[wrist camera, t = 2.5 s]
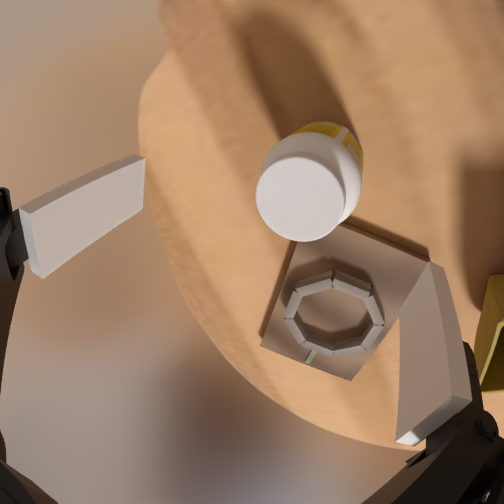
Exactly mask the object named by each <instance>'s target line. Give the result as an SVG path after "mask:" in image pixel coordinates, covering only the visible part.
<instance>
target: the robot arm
mask: <svg viewBox="0 0 504 504" xmlns="http://www.w3.org/2000/svg"><path fill="white" fill-rule="evenodd" d="M145 163H146V158H145V157H142V156H138V155H135V154H133V155H130V156H128V157H125V158H123V159H120V160H118V161H115V162H113V163H110V164H108V165H106V166H103V167H101V168H99V169H96V170H94V171H92V172H90V173H87V174H85V175H83V176H81V177H79V178H76V179H74V180H72V181H70V182H68V183H66V184H64V185H62V186H60V187H57V188H55V189H53V190H52V191H50V192H47V193H45V194H43V195H42V196H40V197H38V198H36V199H34V200H32V201H30V202H28V203H26V204H25V205H23V206H21V207H19V208H18V209H17V210H15V211H13V212H12V206H11V200H10V193H9V190H8V189H7V188H4V187H1V188H0V392H1V381H2V374H3V366H4V359H5V353H6V346H7V341H8V335H9V330H10V325H11V321H12V316H13V311H14V307H15V303H16V299H17V295H18V291H19V287H20V284H21V280H22V277H23V273H24V264H23V262H24V261H26V260H27V259H29V262H30V267H31V271H32V272H33V273H35V274H36V275H38V276H39V277H41V278H42V279H44V278H45V277H46V276H48V275H49V274H50V273H52V272H53V271H54V270H55V269H57V268H58V267H60V266H61V265H62V264H64V263H65V262H66V261H67V260H69V259H70V258H72V257H73V256H74V255H76V254H77V253H79V252H80V251H81V250H83V249H84V248H86V247H87V246H89V245H90V244H91V243H93V242H94V241H96V240H97V239H99V238H100V237H101V236H103V235H104V234H106V233H107V232H109V231H110V230H112V229H113V228H115V227H116V226H118V225H119V224H121V223H122V222H124V221H125V220H127V219H128V218H130V217H131V216H133V215H135V214H136V213H138V212H139V211H141V210H142V209H143V191H144V176H145ZM399 320H400V379H399V401H398V416H397V428H396V439H395V442H398V443H402V444H407V445H411V446H416V445H417V444H418V443H420V442H421V441H423V440H424V439H425V438H426V448H425V449H424V450H422V451H421V452H419V453H418V454H416V455H415V456H413V457H412V458H410V459H409V460H407V461H406V462H407V465H406V466H405V467H404V468H403V469H402V470H401V471H400V472H399V473H397V474H396V475H395V476H394V477H393V478H392V479H391V480H390V481H388V482H387V483H386V484H385V485H384V486H383V487H381V488H380V489H379V490H378V491H377V492H375V493H374V494H373V495H372V496H370V497H369V498H368V499H367V500H365V501H364V502H363V503H362V504H504V439H503V438H502V437H500V436H499V431H498V426H497V423H496V421H495V419H494V418H493V416H492V415H491V414H490V413H488V412H487V411H485V410H484V408H483V401H482V394H481V387H480V381H479V378H478V370H477V369H476V367H477V365H476V360H475V355H474V353H473V351H472V349H471V347H470V346H469V344H468V343H466V342H464V341H462V336H461V331H460V327H459V323H458V318H457V314H456V310H455V306H454V302H453V299H452V295H451V291H450V288H449V284H448V281H447V277H446V274H445V271H444V268H443V267H441V266H439V265H436V264H434V263H432V262H430V261H429V262H428V263H427V265H426V267H425V269H424V270H423V272H422V274H421V276H420V277H419V279H418V281H417V282H416V284H415V286H414V287H413V289H412V290H411V292H410V294H409V295H408V297H407V299H406V300H405V302H404V303H403V305H402V306H401V308H400V309H399ZM488 494H489V496H488V498H487V500H486V501H485V499H486V496H487V495H488ZM0 504H58V503H57V502H56V501H55V500H54V499H53V498H51V497H50V496H49V495H48V494H46V493H45V492H44V491H43V490H42V489H41V488H39V487H38V486H37V485H36V484H35V483H34V482H32V481H31V480H30V479H28V478H27V477H25V476H23V475H22V474H21V473H19V472H18V471H16V470H15V469H13V468H12V467H10V466H9V465H7V464H6V448H5V442H4V439H3V436H2V434H1V431H0Z"/></svg>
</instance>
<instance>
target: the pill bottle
mask: <svg viewBox="0 0 504 504" xmlns="http://www.w3.org/2000/svg"><path fill="white" fill-rule="evenodd" d="M362 172H363V152H362V148H361V145H360V143H359V141H358V140H357V138H356V137H355V135H354V134H353V133H352V132H351V131H350V130H349V129H347V128H346V127H344V126H343V125H341V124H338V123H336V122H332V121H316V122H312V123H309V124H307V125H305V126H304V127H302V128H300V129H298V130H297V131H295V132H294V133H292V134H290V135H289V136H287V137H285V138H284V139H282V140H281V141H279V142H278V143H277V144H276V145H275V146H274V147H273V148H272V149H271V150H270V152H269V153H268V154H267V156H266V158H265V160H264V162H263V165H262V168H261V174H260V178H259V180H258V183H257V186H256V204H257V207H258V211H259V213H260V215H261V217H262V218H263V220H264V221H265V223H266V224H267V225H268V226H269V227H270V228H271V229H272V230H273V231H275V232H276V233H278V234H279V235H281V236H283V237H285V238H287V239H290V240H294V241H301V242H307V241H313V240H317V239H320V238H322V237H324V236H326V235H327V234H329V233H330V232H331V231H332V230H333V229H334V228H335V227H336V226H337V225H338V224H340V223H341V222H342V221H344V220H345V219H346V218H347V217H348V216H349V215H350V214H351V213H352V211H353V210H354V208H355V207H356V205H357V202H358V200H359V196H360V192H361V184H362Z"/></svg>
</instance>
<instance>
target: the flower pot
mask: <svg viewBox="0 0 504 504" xmlns="http://www.w3.org/2000/svg"><path fill="white" fill-rule="evenodd" d="M474 355H475V360H476V365H477V367H476V369H477V370H478V378H479V381H480V387H481V394H492V393H501V392H504V274H494V275H491V276H490V277H489V279H488V282H487V287H486V293H485V298H484V303H483V308H482V312H481V316H480V320H479V324H478V328H477V332H476V338H475V344H474Z"/></svg>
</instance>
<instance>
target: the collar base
mask: <svg viewBox="0 0 504 504" xmlns="http://www.w3.org/2000/svg"><path fill="white" fill-rule="evenodd" d="M429 261H430V258H427V257H425V256H423V255H421V254H418V253H416V252H414V251H412V250H409V249H407V248H405V247H402V246H400V245H398V244H395V243H393V242H391V241H388V240H386V239H384V238H381V237H379V236H376V235H374V234H372V233H369V232H367V231H364V230H362V229H359V228H357V227H354V226H352V225H349V224H347V223H344V222H341V223H340V224H338V225H337V226H336V227H335V228H334V229H333V230H332V231H331V232H330V233H329V234H327V235H326V236H324V237H322V238H320V239H317V240H313V241H307V242H301V241H298V242H297V245H296V248H295V251H294V254H293V257H292V259H291V262H290V265H289V268H288V271H287V273H286V276H285V279H284V282H283V285H282V287H281V290H280V293H279V296H278V298H277V301H276V304H275V307H274V309H273V312H272V315H271V317H270V320H269V323H268V325H267V328H266V331H265V333H264V336H263V339H262V341H261V344H260V346H261V347H264V348H266V349H268V350H271V351H273V352H276V353H278V354H281V355H283V356H286V357H288V358H291V359H293V360H296V361H298V362H301V363H303V364H306V365H308V366H311V367H314V368H316V369H319V370H322V371H324V372H327V373H330V374H332V375H335V376H338V377H341V378H344V379H346V380H349V381H351V380H352V379H353V378H354V377H355V375H356V374H357V373H358V372H359V370H360V369H361V368H362V367H363V365H364V364H365V363H366V361H367V360H368V359H369V357H370V356H371V355H372V353H373V352H374V351H375V349H376V348H377V347H378V345H379V344H380V343H381V341H382V340H383V338H384V337H385V336H386V334H387V333H388V331H389V330H390V329H391V327H392V326H393V324H394V323H395V321H396V320H397V318H398V317H399V309H400V308H401V306H402V305H403V303H404V302H405V300H406V299H407V297H408V295H409V294H410V292H411V290H412V289H413V287H414V286H415V284H416V282H417V281H418V279H419V277H420V276H421V274H422V272H423V270H424V269H425V267H426V265H427V263H428V262H429ZM430 262H431V261H430Z"/></svg>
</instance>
